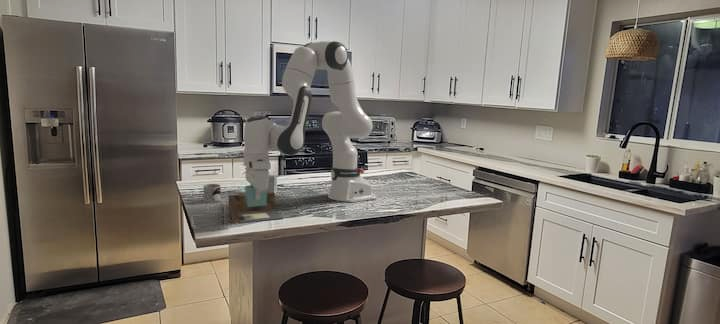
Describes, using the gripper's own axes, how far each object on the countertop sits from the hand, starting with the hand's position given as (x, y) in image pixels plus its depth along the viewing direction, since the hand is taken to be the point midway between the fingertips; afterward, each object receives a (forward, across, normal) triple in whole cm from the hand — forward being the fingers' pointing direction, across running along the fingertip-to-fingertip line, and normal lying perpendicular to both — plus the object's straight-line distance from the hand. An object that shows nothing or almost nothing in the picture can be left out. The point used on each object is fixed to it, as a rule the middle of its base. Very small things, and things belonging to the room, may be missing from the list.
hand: (255, 197), depth 154 cm
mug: (+8, -29, -11) cm, 32 cm away
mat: (+8, -1, +1) cm, 8 cm away
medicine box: (+8, -34, +13) cm, 37 cm away
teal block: (+3, 0, 0) cm, 3 cm away
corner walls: (+8, -2, 0) cm, 8 cm away
